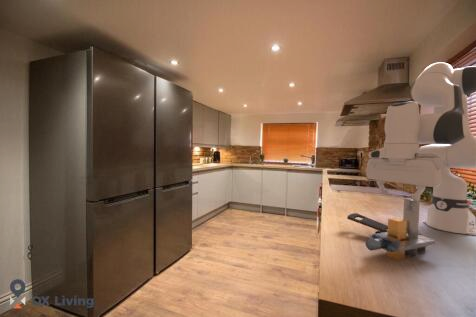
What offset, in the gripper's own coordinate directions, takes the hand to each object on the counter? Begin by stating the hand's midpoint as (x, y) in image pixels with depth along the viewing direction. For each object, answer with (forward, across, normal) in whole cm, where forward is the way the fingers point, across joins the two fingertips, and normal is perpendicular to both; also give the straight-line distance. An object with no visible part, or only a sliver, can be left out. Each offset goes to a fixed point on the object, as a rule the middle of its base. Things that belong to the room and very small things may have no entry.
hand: (398, 197), depth 68 cm
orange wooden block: (+19, 0, 0) cm, 19 cm away
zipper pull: (+19, +11, -10) cm, 24 cm away
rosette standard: (+19, 0, +1) cm, 19 cm away
